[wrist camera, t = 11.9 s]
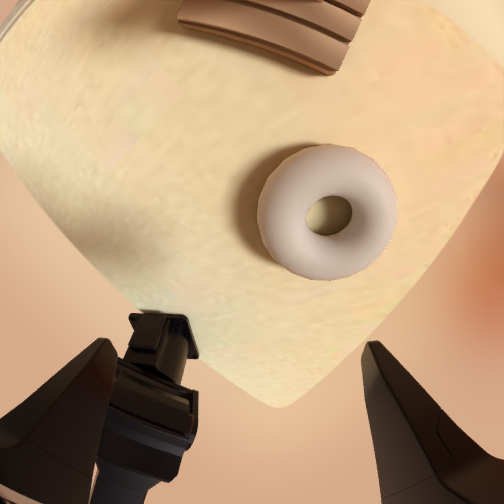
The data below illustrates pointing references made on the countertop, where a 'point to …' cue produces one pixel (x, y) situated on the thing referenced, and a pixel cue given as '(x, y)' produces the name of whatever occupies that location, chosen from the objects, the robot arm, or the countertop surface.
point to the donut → (314, 188)
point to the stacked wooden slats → (282, 26)
